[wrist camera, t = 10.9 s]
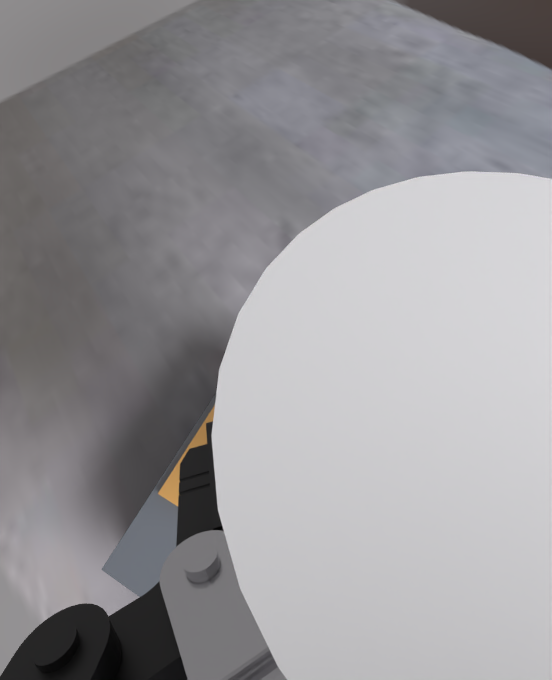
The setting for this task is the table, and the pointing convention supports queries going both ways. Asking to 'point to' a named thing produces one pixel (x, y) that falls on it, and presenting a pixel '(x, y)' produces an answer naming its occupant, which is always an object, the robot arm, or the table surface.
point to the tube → (398, 436)
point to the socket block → (155, 523)
